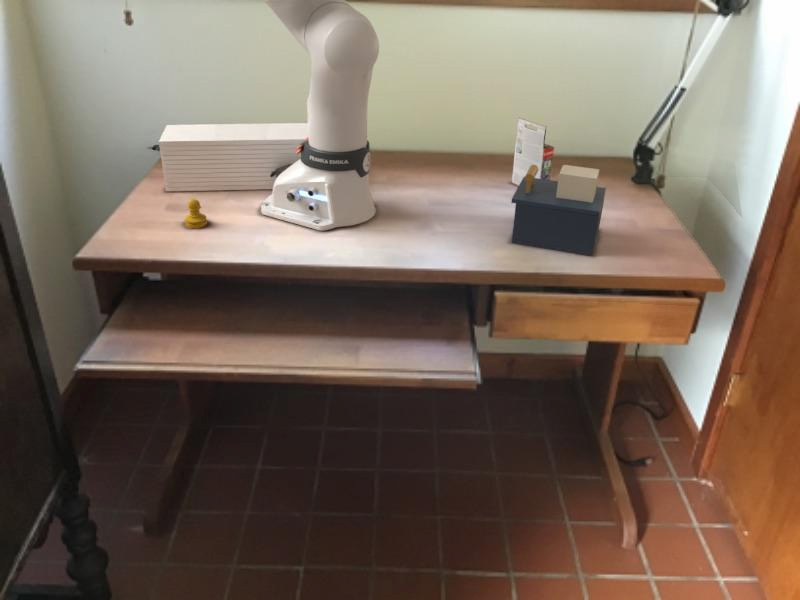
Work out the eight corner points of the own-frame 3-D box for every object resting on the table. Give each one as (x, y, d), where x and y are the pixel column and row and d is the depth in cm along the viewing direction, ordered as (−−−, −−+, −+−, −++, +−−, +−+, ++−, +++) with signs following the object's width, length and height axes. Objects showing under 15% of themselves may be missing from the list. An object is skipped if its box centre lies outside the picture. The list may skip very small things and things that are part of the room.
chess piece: (211, 221, 143) (208, 197, 141) (199, 229, 140) (196, 205, 137) (193, 218, 144) (190, 194, 142) (181, 226, 141) (177, 201, 139)
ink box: (522, 179, 165) (529, 114, 158) (549, 191, 160) (558, 123, 153) (510, 183, 163) (517, 117, 156) (538, 195, 158) (546, 127, 151)
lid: (511, 202, 134) (513, 178, 132) (523, 180, 144) (525, 157, 141) (598, 215, 130) (603, 191, 128) (605, 191, 140) (609, 168, 137)
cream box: (555, 197, 135) (559, 173, 132) (559, 188, 139) (563, 164, 136) (592, 203, 133) (596, 178, 131) (595, 193, 137) (599, 169, 135)
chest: (511, 243, 138) (515, 203, 134) (523, 218, 148) (527, 181, 144) (592, 256, 134) (598, 216, 130) (598, 230, 144) (605, 192, 140)
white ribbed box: (166, 191, 155) (158, 141, 150) (173, 172, 164) (166, 124, 159) (321, 188, 159) (319, 138, 153) (320, 170, 168) (318, 122, 162)
